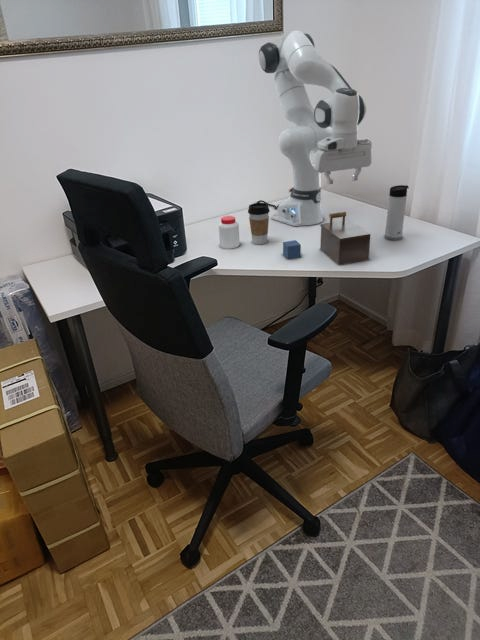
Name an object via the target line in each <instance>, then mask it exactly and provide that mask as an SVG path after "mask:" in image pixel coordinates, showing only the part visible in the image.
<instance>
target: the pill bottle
mask: <svg viewBox="0 0 480 640" xmlns="http://www.w3.org/2000/svg"><path fill="white" fill-rule="evenodd" d="M218 233H219V234H218V236H219V246H220V248H222V249H227V250H228V249H229V250H230V249H236V248H238V247H239V246H240V245H241V243H240V226H239V222H238V221H236V216H234V215H225V216H224V215H223V216H222V217H221V218H220V223H219V224H218Z"/></svg>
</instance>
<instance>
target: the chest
mask: <svg viewBox="0 0 480 640" xmlns="http://www.w3.org/2000/svg"><path fill="white" fill-rule="evenodd" d="M370 247H371V236H368V237H362V238H356V239H349V240H343V241H339V240H338V239H337V238H335V237H334V236H333V235H331V234H330V233H329V232H327V231H326V230H325V229H323V228H322V227H321V226H320V250H321V251H322V252H323V253H324V254H325V255H326V256H327V257H329V258H330V259H331V260H332V261H333V262H335V264H336V265H338V266H340V265H345V264H351V263H357V262H364V261H369V258H370Z"/></svg>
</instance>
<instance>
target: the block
mask: <svg viewBox="0 0 480 640" xmlns="http://www.w3.org/2000/svg"><path fill="white" fill-rule="evenodd" d="M301 251H302V245H301V243H300V242H299V241H298V240H296V239H294V240H293V239H292V240H287V241H282V255H283V257H285V258H286V259H287V260H293V259H299V258H301V257H302V256H301V255H302V253H301Z"/></svg>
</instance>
